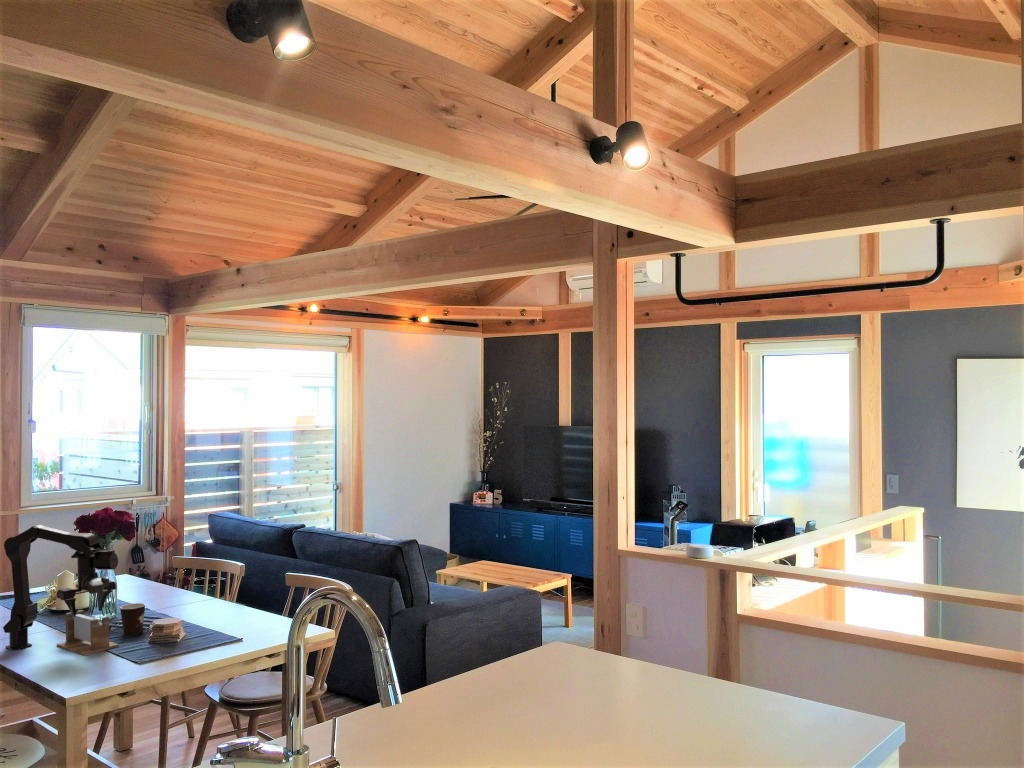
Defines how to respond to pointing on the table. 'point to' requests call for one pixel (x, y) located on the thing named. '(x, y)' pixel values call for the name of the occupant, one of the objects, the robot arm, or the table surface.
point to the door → (83, 627)
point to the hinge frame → (97, 637)
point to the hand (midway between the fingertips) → (87, 613)
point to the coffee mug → (132, 618)
